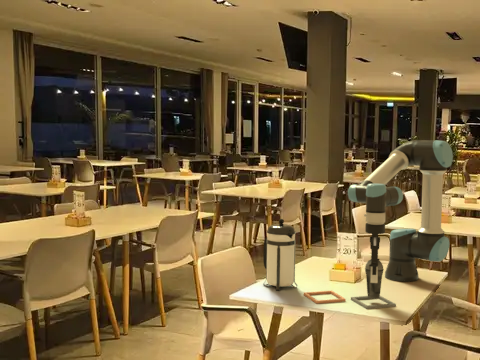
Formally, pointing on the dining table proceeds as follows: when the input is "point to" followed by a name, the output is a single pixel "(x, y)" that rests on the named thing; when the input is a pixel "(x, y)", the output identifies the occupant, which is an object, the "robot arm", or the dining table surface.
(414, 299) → the dining table surface
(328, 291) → the frame
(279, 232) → the coffee press
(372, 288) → the beverage cup
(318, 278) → the dining table surface
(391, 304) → the frame
